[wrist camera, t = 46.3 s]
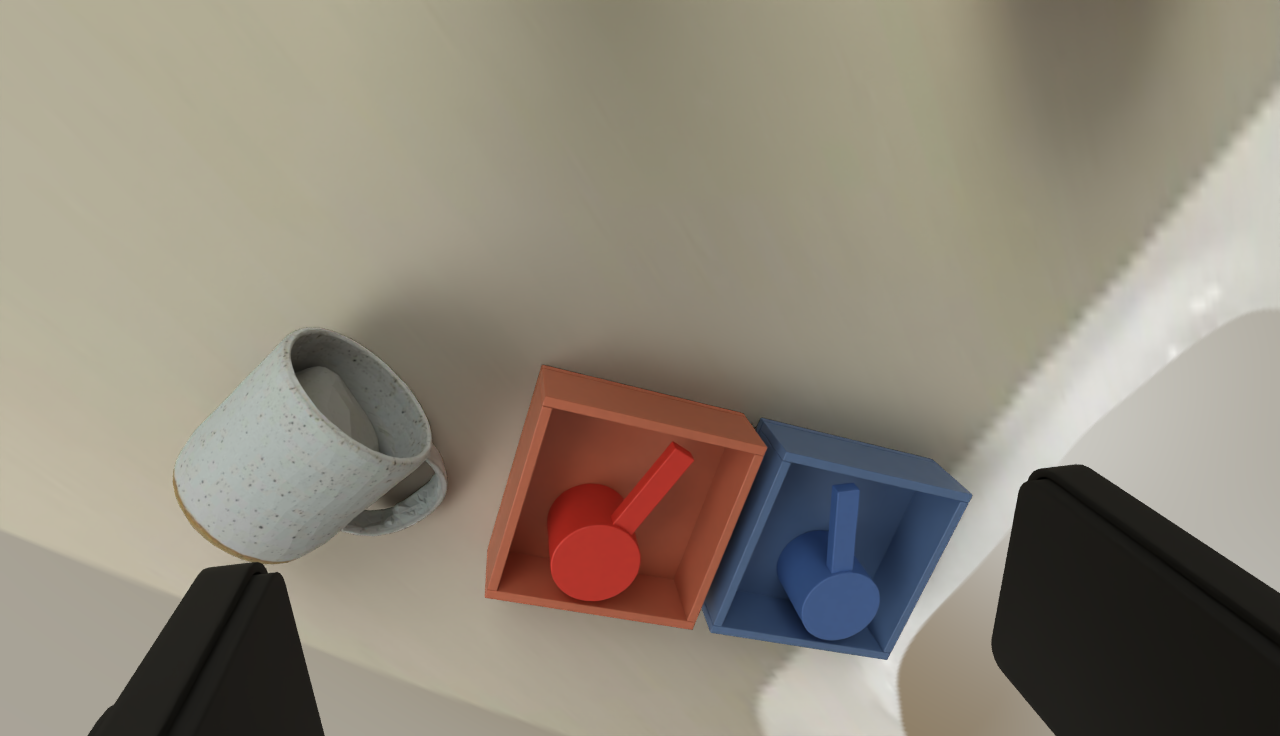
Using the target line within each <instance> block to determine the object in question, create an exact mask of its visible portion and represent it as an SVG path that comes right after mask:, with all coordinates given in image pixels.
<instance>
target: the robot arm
mask: <svg viewBox="0 0 1280 736" xmlns="http://www.w3.org/2000/svg"><path fill="white" fill-rule="evenodd" d="M991 645H992V652H993V655H994V658H995V661H996V663H997V665H998V666H999V668H1000V669H1001V671H1002V672H1003V673H1004V674H1005V676H1006V677H1007V678H1008V679H1009V680H1010V682H1011V683H1012V684H1013V685H1014V686H1015V688H1016V689H1017V690H1018V691H1019V692H1020V693H1021V695H1022V696H1023V697H1024V698H1025V700H1026V701H1027V702H1028V703H1029V704H1030V705H1031V707H1032V708H1033V709H1034V710H1035V711H1036V713H1037V714H1038V715H1039V716H1040V717H1041V719H1042V720H1043V721H1044V722H1045V723H1046V724H1047V726H1048V727H1049V728H1050V729H1051V731H1052V732H1053V733H1054V734H1055V735H1056V736H1280V593H1279V592H1277V591H1276V590H1274V589H1273V588H1271V587H1269V586H1268V585H1266V584H1265V583H1263V582H1262V581H1260V580H1259V579H1257V578H1256V577H1254V576H1253V575H1251V574H1250V573H1248V572H1246V571H1245V570H1244V569H1242V568H1240V567H1239V566H1238V565H1236V564H1235V563H1233V562H1232V561H1230V560H1228V559H1227V558H1225V557H1224V556H1222V555H1221V554H1219V553H1218V552H1216V551H1215V550H1213V549H1212V548H1210V547H1209V546H1207V545H1206V544H1204V543H1203V542H1201V541H1200V540H1198V539H1197V538H1195V537H1194V536H1192V535H1191V534H1189V533H1188V532H1186V531H1184V530H1183V529H1182V528H1180V527H1178V526H1177V525H1175V524H1174V523H1172V522H1171V521H1169V520H1168V519H1166V518H1165V517H1163V516H1162V515H1160V514H1159V513H1157V512H1156V511H1154V510H1153V509H1151V508H1150V507H1148V506H1147V505H1145V504H1144V503H1142V502H1141V501H1139V500H1138V499H1136V498H1134V497H1133V496H1131V495H1130V494H1128V493H1127V492H1125V491H1124V490H1122V489H1120V488H1119V487H1118V486H1116V485H1115V484H1113V483H1111V482H1110V481H1109V480H1107V479H1105V478H1104V477H1102V476H1101V475H1100V474H1098V473H1097V472H1095V471H1093V470H1092V469H1090V468H1089V467H1086V466H1084V465H1067V466H1058V467H1050V468H1041V469H1038V470H1036V471H1034V472H1033V473H1032V474H1031V475H1030V476H1029V479H1028V481H1027V482H1025V483H1023V484H1022V486H1021V487H1020V490H1019V493H1018V498H1017V503H1016V509H1015V514H1014V520H1013V525H1012V531H1011V537H1010V542H1009V547H1008V552H1007V558H1006V564H1005V569H1004V574H1003V580H1002V585H1001V591H1000V596H999V602H998V607H997V613H996V618H995V624H994V629H993V635H992V644H991ZM88 736H325V735H324V731H323V728H322V724H321V720H320V716H319V712H318V708H317V704H316V701H315V697H314V693H313V689H312V685H311V682H310V677H309V674H308V670H307V666H306V662H305V658H304V654H303V650H302V646H301V642H300V639H299V635H298V631H297V627H296V623H295V619H294V615H293V612H292V608H291V604H290V600H289V596H288V592H287V588H286V584H285V581H284V579H283V577H282V575H281V574H280V573H278V572H275V573H268V572H267V570H266V568H265V567H264V565H263V564H262V563H260V562H252V563H243V564H235V565H226V566H218V567H210V568H206V569H203V570H202V571H201V572H200V574H199V575H198V576H197V577H196V579H195V581H194V582H193V584H192V585H191V587H190V588H189V590H188V591H187V593H186V594H185V596H184V597H183V599H182V601H181V602H180V604H179V605H178V607H177V608H176V610H175V611H174V613H173V614H172V616H171V618H170V619H169V621H168V622H167V624H166V625H165V627H164V628H163V630H162V632H161V633H160V635H159V636H158V638H157V639H156V641H155V642H154V644H153V645H152V647H151V648H150V650H149V652H148V653H147V655H146V656H145V658H144V659H143V661H142V662H141V664H140V665H139V667H138V668H137V670H136V672H135V673H134V675H133V676H132V678H131V679H130V681H129V682H128V684H127V686H126V687H125V689H124V690H123V692H122V693H121V695H120V696H119V698H118V699H117V701H116V702H115V704H114V705H113V706H111V707H109V708H108V709H107V710H106V711H105V712H104V714H103V715H102V716H101V717H100V718H99V720H98V721H97V722H96V724H95V725H94V727H93V729H92V730H91V731H90V733H89V734H88Z"/></svg>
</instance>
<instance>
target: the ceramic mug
mask: <svg viewBox="0 0 1280 736" xmlns="http://www.w3.org/2000/svg"><path fill="white" fill-rule="evenodd" d="M424 461H426V462H427V463H428V464H429V466H430V467H432V469H433V470H434V471H435V474H434V475H433V476H432V478H431V480H430V481H429V482H428V483H427V484H426V485H424V486H423V487H422V488H420V489H419V490H418V491H416V492H415V493H414V494H412V495H411V496H409V497H408V498H407V499H405V500H404V501H402V502H399V503H397V504H396V505H395V506H394V507H391V508H387V509H381V510H365V509H366V508H368V507H369V506H370V505H372V504H373V503H374V502H375V501H377V500H378V499H379V498H381V497H382V496H383V495H384V494H386V493H387V492H388V491H389V490H390V489H392V488H393V487H394V486H395V485H397V484H398V483H399V482H400V481H402V480H403V479H404V478H406V477H407V476H408V475H410V474H411V473H412V472H413V471H415V470H416V469H417V468H418V467H419V466H420V465H421V464H422V463H423V462H424ZM173 486H174V492H175V496H176V499H177V501H178V504H179V506H180V508H181V509H182V511H183V513H184V514H185V516H186V517H187V519H188V521H189V522H190V524H191V525H192V527H193V528H194V529H195V530H196V531H197V532H198V533H200V534H201V535H202V536H203V537H204V538H205V539H206V540H208V541H209V542H210V543H212V544H213V545H214V546H216V547H218V548H220V549H221V550H223V551H225V552H227V553H229V554H231V555H233V556H235V557H238V558H240V559H243V560H246V561H250V562H260V563H262V564H280V563H287V562H290V561H293V560H295V559H297V558H299V557H302V556H304V555H305V554H307V553H309V552H311V551H313V550H314V549H316V548H318V547H320V546H321V545H323V544H325V543H326V542H327V541H328V540H330V539H331V538H332V537H333V536H335V535H336V534H337V533H338V532H340V531H342V532H345V533H350V534H354V535H364V536H379V535H385V534H390V533H393V532H397V531H400V530H403V529H405V528H408V527H410V526H412V525H414V524H416V523H417V522H419V521H421V520H422V519H424V518H425V517H427V516H428V515H429V514H431V513H432V512H433V511H434V510H435V509H436V508H437V507H438V506H439V505H440V504H441V502H442V501H443V499H444V498H445V495H446V492H447V487H448V481H447V474H446V471H445V466H444V462H443V459H442V457H441V454H440V452H439V451H438V450H437V448H436V447H435V446H434V445H433V444H432V434H431V428H430V424H429V422H428V420H427V417H426V415H425V413H424V412H423V410H422V407H421V405H420V404H419V402H418V401H417V399H416V398H415V396H414V394H413V393H412V391H411V390H410V389H409V388H408V386H407V385H406V384H405V383H404V382H403V381H402V380H401V379H400V378H399V377H398V376H397V375H396V374H395V373H394V372H393V371H392V370H391V369H390V367H389V366H388V365H387V364H386V363H384V362H383V361H382V360H381V359H379V358H378V357H377V356H376V355H374V354H373V353H372V352H370V351H369V350H368V349H367V348H365V347H363V346H361V345H360V344H359V343H357V342H356V341H354V340H352V339H350V338H348V337H345V336H343V335H340V334H338V333H336V332H334V331H331V330H328V329H323V328H303V329H299V330H295V331H294V332H292V333H290V334H289V335H287V336H286V337H285V338H284V339H283V340H282V341H281V342H280V343H279V344H278V345H277V346H276V348H275V349H274V350H273V351H272V352H271V353H270V354H269V355H268V356H267V357H266V358H265V359H264V360H263V361H262V362H261V363H260V364H259V365H258V366H257V367H256V368H255V369H254V370H253V371H252V372H251V373H250V374H249V375H248V376H247V377H246V378H245V379H244V380H243V381H242V382H241V383H240V384H239V385H238V387H237V388H236V389H235V390H234V391H233V392H232V393H231V394H230V395H229V396H228V397H227V398H226V399H225V400H224V401H223V402H222V404H221V405H220V406H219V407H218V408H217V409H216V410H215V411H214V412H213V413H212V414H211V415H210V416H209V417H208V418H207V419H206V420H205V421H204V422H203V423H202V424H201V425H200V426H199V427H198V428H197V429H196V430H195V431H194V432H193V434H192V435H191V437H190V438H189V440H188V441H187V443H186V444H185V446H184V447H183V449H182V450H181V452H180V454H179V456H178V458H177V461H176V463H175V467H174V471H173Z"/></svg>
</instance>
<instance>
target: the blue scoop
mask: <svg viewBox="0 0 1280 736" xmlns="http://www.w3.org/2000/svg"><path fill="white" fill-rule="evenodd" d="M859 497H860V489H859V488H858V487H857V486H856V485H855V484H854V483H845V484H837V485H832V494H831V507H830V521H829V531H822V530H818V531H810V532H807V533H804V534H802V535H800V536H798V537H796V538H795V539H793V540H792V541H791V542H790V543H788V545H787V546H786V547H785V548H784V549H783V551H782V552H781V554H780V556H779V559H778V562H777V575H778V578H779V580H780V582H781V584H782V586H783V588H784V590H785V591H786V593H787V595H788V597H789V599H790V601H791V603H792V604H793V606H794V608H795V610H796V612H797V614H798V616H799V617H800V619H801V621H802V623H803V625H804V626H805V628H806V629H807V631H808V632H809V633H811V634H812V635H814V636H815V637H817V638H820V639H824V640H840V639H845V638H848V637H850V636H853V635H855V634H857V633H858V632H860V631H861V630H863V629H864V628H865V627H866V626H867V625H868V624H869V623H870V622H871V621H872V619H873V618H874V616H875V615H876V613H877V611H878V608H879V603H880V594H879V590H878V587H877V585H876V584H875V583H874V581H873V580H872V578H871V577H870V576H869V574H868V573H867V572H866V570H865V569H864V568H863V566H862V565H861V563H860V562H859V561H858V559H857V558H856V557H855V555H854V552H855V541H856V530H857V519H858V508H859Z"/></svg>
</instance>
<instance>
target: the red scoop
mask: <svg viewBox="0 0 1280 736" xmlns="http://www.w3.org/2000/svg"><path fill="white" fill-rule="evenodd" d="M693 462H694V458H693V456H692V454H691V452H689V451H687V450H686V449H684V448H683V447H681V446H680V445H678V444H677V443H675V442H673V441H672V442H671V443H670V445H669V446H668V447H667V448H666V450H665V451H664V452H663V453H662V454H661V456H660V457H659V458H658V459H657V460H656V462H655V463H654V464H653V465H652V467H651V468H650V469H649V470H648V471H647V473H646V474H645V475H644V476H643V477H642V479H641V480H640V481H639V482H638V483H637V485H636V486H635V487H634V488H633V490H632V491H631V492H630V493H629V494H628V496H627V497H626V498H625V499H623V497H622V496H621V495H620V494H619V493H618V492H616V491H615V490H613V489H612V488H610V487H607V486H604V485H600V484H582V485H578V486H575V487H572V488H570V489H568V490H566V491H565V492H563V493H562V494H561V495H560V496H559V497H558V498H557V499H556V500H555V501H554V502H553V504H552V506H551V507H550V509H549V512H548V516H547V531H548V544H549V557H550V569H551V575H552V578H553V580H554V582H555V583H556V585H557V586H558V587H559V588H560V589H561V590H562V591H563V592H564V593H565V594H567V595H569V596H571V597H573V598H575V599H579V600H583V601H600V600H605V599H608V598H611V597H614V596H616V595H618V594H619V593H621V592H622V591H624V590H625V589H626V588H627V587H628V586H629V585H630V584H631V583H632V582H633V581H634V579H635V577H636V576H637V574H638V571H639V568H640V564H641V554H640V549H639V546H638V542H637V538H636V535H635V531H636V530H637V528H638V527H639V526H640V525H641V524H642V522H643V521H644V520H645V519H646V518H647V516H648V515H649V514H650V513H651V512H652V510H653V509H654V508H655V507H656V506H657V504H658V503H659V502H660V501H661V500H662V499H663V497H664V496H665V495H666V494H667V493H668V491H669V490H670V489H671V488H672V487H673V485H674V484H675V483H676V482H677V481H678V479H679V478H680V477H681V476H682V475H683V473H684V472H685V471H686V470H687V469H688V468H689V466H690V465H691V464H692V463H693Z"/></svg>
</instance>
